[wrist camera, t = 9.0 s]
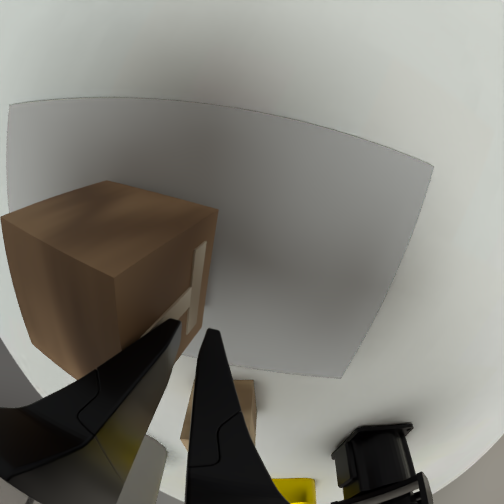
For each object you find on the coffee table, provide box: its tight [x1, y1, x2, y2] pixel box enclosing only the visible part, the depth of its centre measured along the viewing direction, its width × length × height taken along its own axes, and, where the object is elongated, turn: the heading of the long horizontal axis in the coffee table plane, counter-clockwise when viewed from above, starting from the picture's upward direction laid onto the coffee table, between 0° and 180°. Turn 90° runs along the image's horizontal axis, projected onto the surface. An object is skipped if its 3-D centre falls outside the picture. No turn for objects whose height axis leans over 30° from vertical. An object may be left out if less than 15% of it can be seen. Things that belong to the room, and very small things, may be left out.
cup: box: [116, 434, 167, 504], centre depth 20 cm, size 8×8×10 cm
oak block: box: [180, 379, 257, 451], centre depth 17 cm, size 4×4×5 cm
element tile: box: [272, 478, 316, 504], centre depth 28 cm, size 15×15×5 cm
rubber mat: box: [6, 97, 434, 379], centre depth 14 cm, size 23×14×1 cm, turn 79°
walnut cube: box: [1, 180, 219, 380], centre depth 10 cm, size 6×6×6 cm
